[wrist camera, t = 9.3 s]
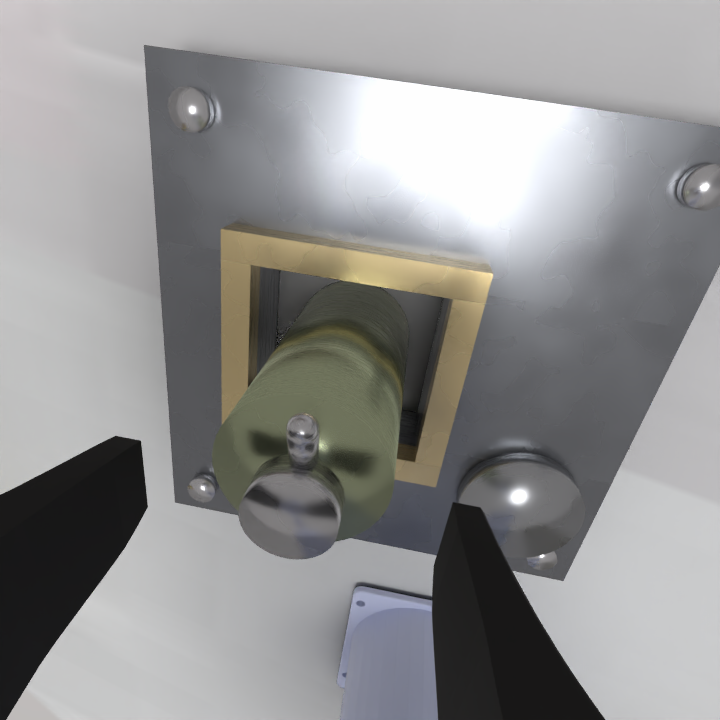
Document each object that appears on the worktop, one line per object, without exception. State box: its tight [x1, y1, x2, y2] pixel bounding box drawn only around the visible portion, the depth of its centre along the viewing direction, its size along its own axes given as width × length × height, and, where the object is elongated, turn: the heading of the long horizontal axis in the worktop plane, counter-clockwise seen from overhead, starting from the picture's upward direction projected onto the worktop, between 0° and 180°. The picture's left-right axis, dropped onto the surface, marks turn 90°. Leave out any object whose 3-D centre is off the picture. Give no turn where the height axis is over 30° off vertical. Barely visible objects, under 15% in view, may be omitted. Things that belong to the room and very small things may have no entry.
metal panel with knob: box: [144, 45, 720, 581], centre depth 18 cm, size 18×18×4 cm
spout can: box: [212, 281, 409, 559], centre depth 15 cm, size 5×5×10 cm
